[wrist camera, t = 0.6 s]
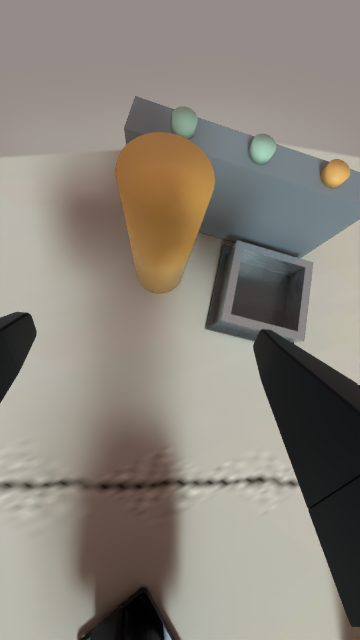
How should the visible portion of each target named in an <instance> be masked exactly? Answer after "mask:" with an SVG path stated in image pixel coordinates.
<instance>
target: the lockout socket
mask: <svg viewBox="0 0 360 640" xmlns="http://www.w3.org/2000/svg"><path fill="white" fill-rule="evenodd" d="M312 269H313V262H310V261H307V260H303V259H300V258H296V257H293V256H289V255H286V254H283V253H279V252H276V251H272V250H269V249H266V248H262V247H259V246H255V245H252V244H248V243H245V242H242V241H238V240H237V241H236V242H235V244H234V245H233V246H232V247H229V246H226V245H223V247H222V252H221V257H220V261H219V266H218V271H217V276H216V281H215V285H214V290H213V295H212V300H211V305H210V309H209V314H208V319H207V324H206V329H207V330H211V331H215V332H219V333H223V334H227V335H231V336H235V337H239V338H243V339H247V340H251V341H255V340H256V337H257V335H258V333H259V331H260V330H261V329H269V330H272V331H274V332H275V333H277V334H279V335H280V336H282V337H283V338H285V339H287V340H288V341H290V342H291V343H293V344H294V342H301V341H304V339H305V330H306V322H307V313H308V304H309V295H310V286H311V277H312Z"/></svg>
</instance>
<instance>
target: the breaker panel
mask: <svg viewBox="0 0 360 640" xmlns="http://www.w3.org/2000/svg"><path fill="white" fill-rule="evenodd" d="M124 130H125V137H126V145H127V144H128V143H129V142H130V141H132V140H133V139H135V138H137V137H139V136H141V135H144V134H147V133H153V132H166V133H172V134H176V135H179V136H182V137H184V138H186V139H188V140H190V141H191V142H193V143H194V144H196V145H197V146H198V147H199V148H200V149H201V150H202V151H203V152H204V153H205V154H206V156H207V157H208V159H209V161H210V162H211V165H212V167H213V171H214V176H215V185H214V190H213V193H212V196H211V199H210V201H209V204H208V207H207V210H206V212H205V215H204V218H203V221H202V223H201V226H200V229H199V231H198V232H201V233H205V234H208V235H211V236H215V237H218V238H222V239H225V240H229V241H232V242H236V241H237V240H238V241H242V242H245V243H248V244H252V245H255V246H259V247H262V248H266V249H269V250H272V251H276V252H279V253H283V254H286V255H289V256H293V257H296V258H301V257H303V256H304V255H306V254H307V253H309V252H310V251H312V250H313V249H315V248H316V247H318V246H320V245H321V244H323V243H324V242H326V241H327V240H329V239H330V238H332V237H333V236H335V235H336V234H338V233H339V232H341V231H342V230H344V229H345V228H347V227H349V226H350V225H352V224H353V223H355V222H356V221H358V220H359V219H360V172H357V171H354V170H351V169H349V166H348V165H347V164H346V163H345V162H344V161H342V160H339V159H334V160H332V161H330V162H328V161H325V160H322V159H319V158H316V157H313V156H310V155H307V154H304V153H301V152H298V151H295V150H292V149H289V148H286V147H284V146H281V145H278V144H276V143H275V141H274V139H273V138H272V137H270V136H269V135H266V134H259V135H257V136H255V137H254V136H251V135H248V134H245V133H242V132H239V131H236V130H233V129H230V128H228V127H225V126H222V125H219V124H216V123H213V122H210V121H207V120H204V119H201V118H198V117H197V115H196V113H195V112H194V111H193V110H192V109H190V108H187V107H178V108H176V109H172V108H168V107H166V106H163V105H160V104H157V103H154V102H151V101H148V100H145V99H142V98H139V97H136V96H135V99H134V102H133V104H132V107H131V110H130V113H129V116H128V119H127V122H126V124H125V127H124Z"/></svg>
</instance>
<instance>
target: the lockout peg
mask: <svg viewBox="0 0 360 640" xmlns="http://www.w3.org/2000/svg"><path fill="white" fill-rule="evenodd" d="M116 178H117V183H118V187H119V192H120V197H121V202H122V206H123V211H124V216H125V221H126V225H127V230H128V235H129V240H130V244H131V249H132V254H133V259H134V263H135V268H136V273H137V277H138V280H139V282H140V283H141V285H142V286H143V287H144V288H146V289H147V290H149V291H151V292H154V293H167V292H169V291H172V290H173V289H174V288H176V287H177V285H178V284H179V283H180V281H181V278H182V275H183V273H184V270H185V267H186V264H187V262H188V259H189V256H190V253H191V251H192V248H193V245H194V242H195V240H196V237H197V234H198V231H199V229H200V226H201V223H202V221H203V218H204V215H205V212H206V210H207V207H208V204H209V201H210V199H211V196H212V193H213V190H214V185H215V176H214V171H213V167H212V165H211V162H210V161H209V159H208V157H207V156H206V154H205V153H204V152H203V151H202V150H201V149H200V148H199V147H198V146H197V145H196V144H194V143H193V142H191V141H190V140H188V139H186V138H184V137H182V136H179V135H176V134H172V133H166V132H153V133H147V134H144V135H141V136H139V137H137V138H135V139H133V140H132V141H130V142H129V143H128V144H127V145H126V146H125V147H124V148H123V150H122V151H121V153H120V155H119V157H118V160H117V163H116Z"/></svg>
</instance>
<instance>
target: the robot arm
mask: <svg viewBox="0 0 360 640" xmlns="http://www.w3.org/2000/svg"><path fill="white" fill-rule="evenodd" d="M36 333H37V332H36V328H35V325H34V322H33V319H32V316H31V315H30V314H29V313H24V312H15V313H12V314H9V315H7V316H4V317H1V318H0V403H1V401H2V400H3V398H4V396H5V395H6V393H7V391H8V390H9V388H10V387H11V385H12V383H13V382H14V380H15V378H16V377H17V375H18V373H19V371H20V369H21V368H22V366H23V363H24V361H25V359H26V357H27V355H28V353H29V351H30V348H31V346H32V344H33V342H34V340H35V338H36ZM253 349H254V353H255V358H256V362H257V366H258V370H259V374H260V378H261V381H262V384H263V387H264V390H265V393H266V395H267V398H268V401H269V404H270V406H271V409H272V412H273V415H274V417H275V420H276V423H277V425H278V428H279V431H280V434H281V436H282V439H283V442H284V445H285V447H286V450H287V453H288V456H289V458H290V461H291V464H292V467H293V469H294V472H295V475H296V478H297V480H298V483H299V486H300V488H301V491H302V494H303V497H304V499H305V502H306V505H307V508H308V509H309V510H308V511H309V514H310V516H311V519H312V522H313V525H314V527H315V530H316V533H317V535H318V538H319V541H320V544H321V546H322V549H323V552H324V555H325V557H326V560H327V563H328V566H329V568H330V571H331V574H332V577H333V579H334V582H335V585H336V587H337V590H338V593H339V596H340V598H341V601H342V604H343V607H344V609H345V612H346V615H347V617H348V619H349V622H350V624H351V626H352V627H360V385H358V384H357V383H356V382H354V381H352V380H351V379H349V378H348V377H346V376H344V375H343V374H341V373H340V372H338V371H336V370H335V369H333V368H332V367H330V366H328V365H327V364H325V363H324V362H322V361H320V360H319V359H317V358H315V357H314V356H312V355H311V354H309V353H307V352H306V351H304V350H303V349H301V348H299V347H298V346H296V345H295V344H293V343H291V342H290V341H288V340H287V339H285V338H283V337H282V336H280V335H279V334H277V333H275V332H274V331H272V330H269V329H261V330H260V331H259V333H258V335H257V337H256V340H255V342H254V345H253ZM142 596H143V597H144V598H141V597H142ZM81 640H175V639H174V637H173V636H172V634H171V632H170V630H169V628H168V626H167V625H166V623H165V621H164V619H163V617H162V615H161V614H160V612H159V610H158V608H157V606H156V604H155V602H154V601H153V599H152V597H151V595H150V593H149V591H148V590H147V589H146V588H141V589H139V590H138V591H137V592H136V593H135V594H133V595H132V596H131V597H130V598H129V599H128V600H126V601H125V602H124V603H123V604H122V605H121V606H119V607H118V608H117V609H116V610H115V611H113V612H112V613H111V614H110V615H109V616H108V617H106V618H105V619H104V620H103V621H102V622H101V623H99V624H98V625H97V626H96V627H95V628H94V629H93V630H92V631H90V632H89V633H88V634H87V635H86V636H85V637H83V638H82V639H81Z"/></svg>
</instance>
